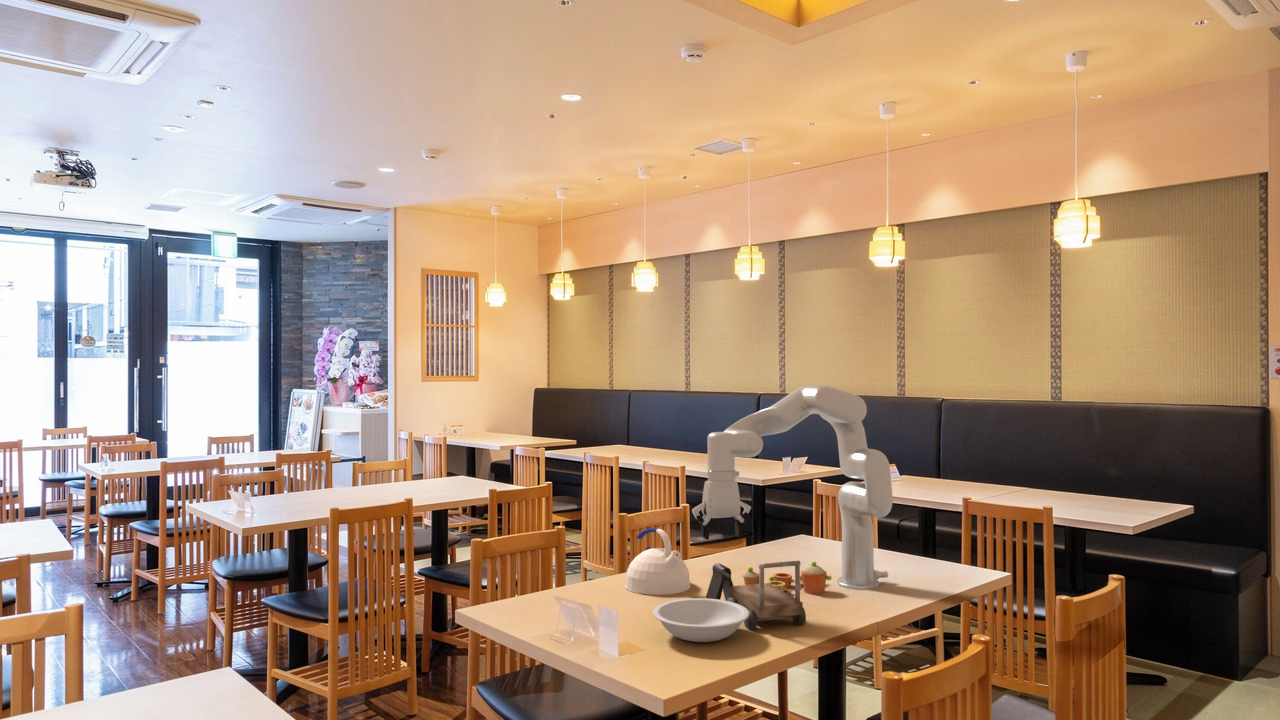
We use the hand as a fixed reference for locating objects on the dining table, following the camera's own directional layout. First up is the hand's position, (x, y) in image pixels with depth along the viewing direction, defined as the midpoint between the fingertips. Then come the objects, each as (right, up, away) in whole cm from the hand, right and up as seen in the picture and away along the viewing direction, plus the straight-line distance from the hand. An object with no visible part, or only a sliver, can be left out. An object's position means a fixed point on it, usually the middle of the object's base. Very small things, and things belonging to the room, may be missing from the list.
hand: (722, 537), depth 232 cm
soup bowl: (-8, -20, -25) cm, 33 cm away
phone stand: (0, -20, 0) cm, 20 cm away
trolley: (+10, -20, -11) cm, 25 cm away
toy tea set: (+21, -20, +18) cm, 35 cm away
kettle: (-17, -21, +24) cm, 36 cm away
